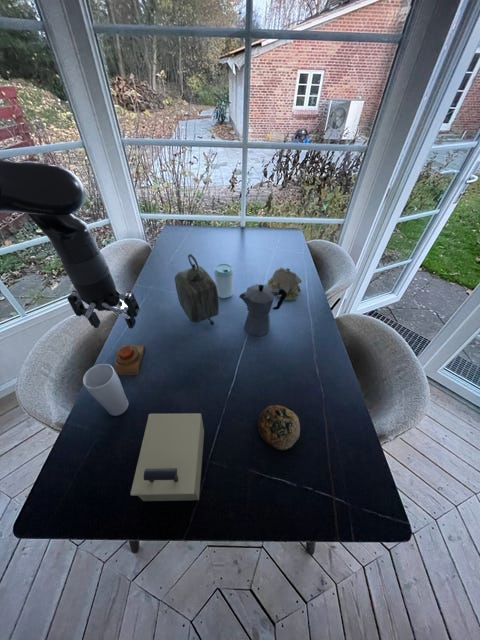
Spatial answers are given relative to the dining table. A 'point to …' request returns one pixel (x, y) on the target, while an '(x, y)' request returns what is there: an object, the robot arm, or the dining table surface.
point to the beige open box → (197, 483)
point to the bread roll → (279, 427)
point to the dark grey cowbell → (197, 293)
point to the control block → (129, 361)
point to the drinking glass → (106, 388)
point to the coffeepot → (260, 307)
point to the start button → (126, 353)
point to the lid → (168, 455)
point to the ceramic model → (286, 283)
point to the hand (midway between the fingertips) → (115, 325)
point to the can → (223, 280)
